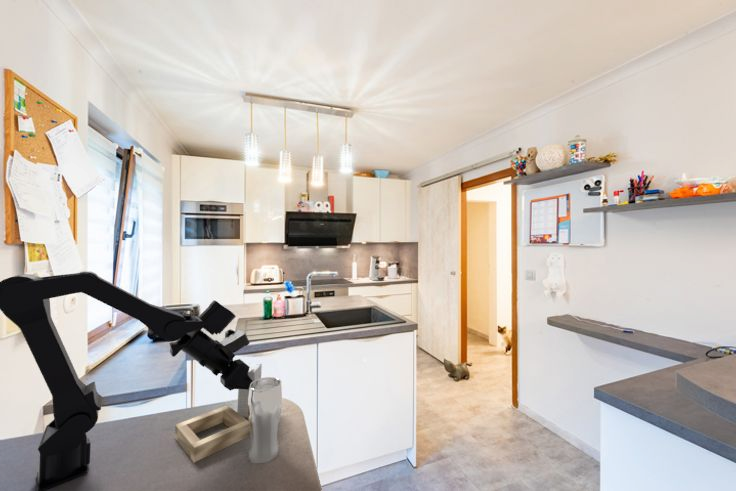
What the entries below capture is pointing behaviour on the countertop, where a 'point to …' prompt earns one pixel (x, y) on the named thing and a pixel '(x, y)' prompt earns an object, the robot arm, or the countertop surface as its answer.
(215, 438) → the frame
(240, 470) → the countertop surface
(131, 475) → the countertop surface
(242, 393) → the skincare box
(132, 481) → the countertop surface
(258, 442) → the beer glass
